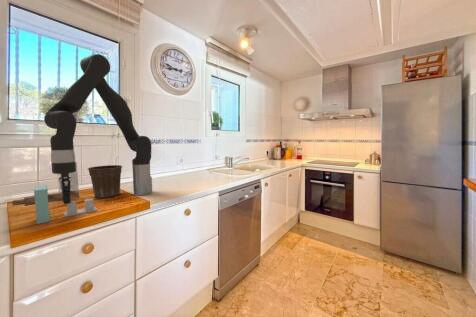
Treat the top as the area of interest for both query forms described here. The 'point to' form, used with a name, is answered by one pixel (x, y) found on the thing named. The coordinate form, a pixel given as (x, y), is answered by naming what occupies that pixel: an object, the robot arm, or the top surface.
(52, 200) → the needle
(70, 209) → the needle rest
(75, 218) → the top surface
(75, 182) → the milk
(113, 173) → the plant pot
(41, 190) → the teal rectangular frame
